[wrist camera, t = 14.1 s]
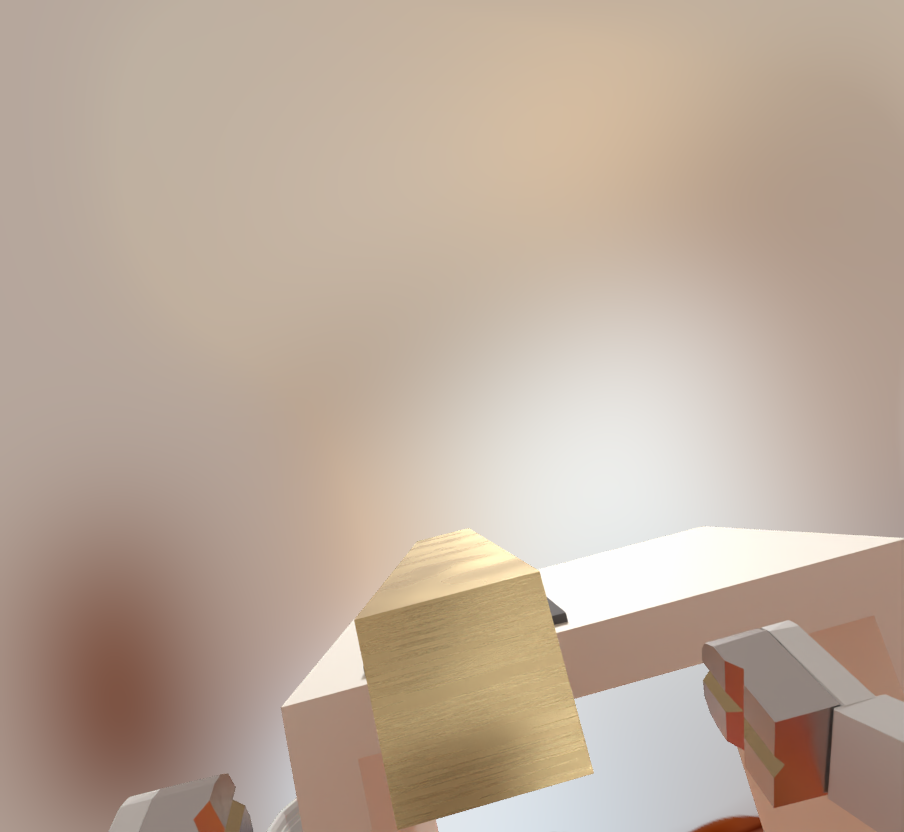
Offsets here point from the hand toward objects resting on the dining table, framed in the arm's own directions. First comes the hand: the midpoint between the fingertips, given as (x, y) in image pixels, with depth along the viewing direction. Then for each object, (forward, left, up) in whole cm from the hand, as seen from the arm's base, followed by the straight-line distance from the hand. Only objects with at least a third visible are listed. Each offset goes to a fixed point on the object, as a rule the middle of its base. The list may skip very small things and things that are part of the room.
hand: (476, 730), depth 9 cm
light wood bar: (0, -10, -1) cm, 10 cm away
